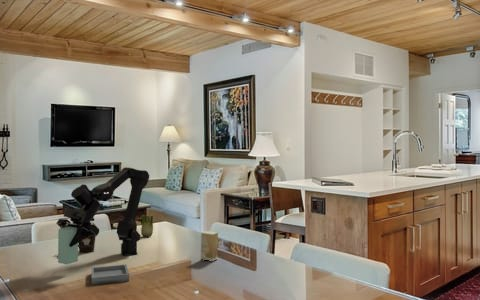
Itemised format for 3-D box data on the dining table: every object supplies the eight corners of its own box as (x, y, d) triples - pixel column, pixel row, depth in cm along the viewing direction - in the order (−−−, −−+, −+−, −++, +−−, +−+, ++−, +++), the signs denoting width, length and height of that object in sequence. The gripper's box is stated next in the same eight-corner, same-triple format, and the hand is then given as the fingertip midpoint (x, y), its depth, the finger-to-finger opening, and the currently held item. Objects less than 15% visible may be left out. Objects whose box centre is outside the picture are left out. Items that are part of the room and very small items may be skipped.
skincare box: (200, 260, 176) (200, 232, 176) (205, 257, 180) (205, 230, 180) (212, 262, 173) (213, 234, 173) (218, 259, 177) (218, 232, 177)
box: (126, 270, 161) (126, 264, 161) (129, 280, 148) (129, 274, 148) (91, 273, 156) (91, 267, 156) (91, 284, 144) (91, 278, 144)
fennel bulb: (153, 236, 222) (153, 214, 221) (149, 238, 217) (149, 216, 217) (144, 235, 223) (144, 214, 223) (139, 237, 218) (139, 215, 218)
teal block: (69, 259, 159) (69, 226, 159) (77, 261, 157) (78, 228, 156) (58, 262, 155) (58, 228, 154) (66, 264, 152) (67, 230, 152)
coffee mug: (99, 249, 193) (99, 228, 193) (91, 254, 184) (91, 232, 184) (76, 248, 194) (76, 227, 194) (66, 253, 185) (67, 231, 185)
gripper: (60, 198, 163) (35, 231, 153) (93, 202, 154) (69, 236, 145) (76, 215, 170) (53, 246, 160) (108, 219, 162) (87, 253, 152)
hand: (65, 245), depth 154 cm, fingers closed on teal block, 5 cm apart
